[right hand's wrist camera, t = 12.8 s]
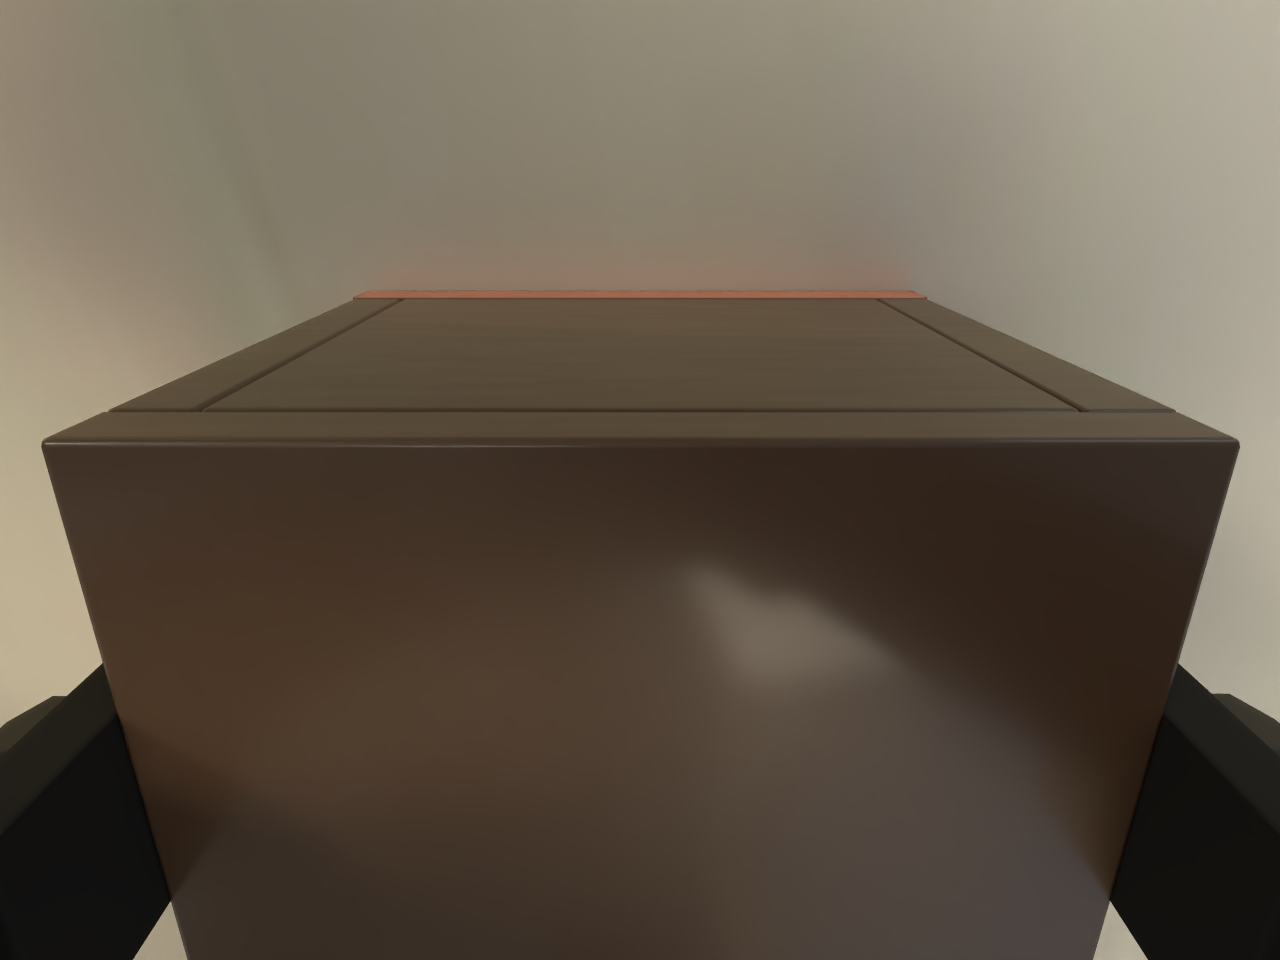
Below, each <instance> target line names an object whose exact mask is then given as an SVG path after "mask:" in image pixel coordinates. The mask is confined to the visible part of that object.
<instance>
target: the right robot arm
mask: <svg viewBox="0 0 1280 960" xmlns="http://www.w3.org/2000/svg"><path fill="white" fill-rule="evenodd" d="M170 901H171V899H170V896H169V892H168V889H167V885H166V882H165V878H164V875H163V871H162V868H161V864H160V861H159V857H158V854H157V850H156V847H155V843H154V840H153V836H152V833H151V829H150V826H149V822H148V819H147V815H146V812H145V808H144V805H143V801H142V798H141V794H140V791H139V787H138V784H137V780H136V777H135V773H134V770H133V766H132V763H131V759H130V756H129V752H128V749H127V745H126V742H125V738H124V735H123V731H122V728H121V724H120V721H119V717H118V714H117V710H116V707H115V703H114V700H113V696H112V693H111V689H110V686H109V682H108V679H107V675H106V672H105V668H104V665H103V663H102V664H101V665H100V666H99V667H98V668H97V669H96V670H95V671H94V672H93V673H92V674H90V675H89V676H88V677H87V678H86V679H85V680H84V681H83V682H82V683H81V684H80V685H78V686H77V687H76V688H75V689H74V690H73V691H72V692H71V693H70V694H69V695H68V696H52V697H51V698H49V699H47V700H45V701H44V702H42V703H40V704H38V705H36V706H35V707H33V708H31V709H29V710H28V711H26V712H24V713H22V714H21V715H19V716H17V717H15V718H13V719H12V720H10V721H8V722H7V723H5V724H4V725H3V726H2V727H1V728H0V960H133V959H134V957H135V955H136V954H137V952H138V951H139V949H140V948H141V946H142V945H143V943H144V941H145V940H146V938H147V937H148V935H149V934H150V932H151V931H152V929H153V927H154V926H155V924H156V923H157V921H158V920H159V918H160V917H161V915H162V913H163V912H164V910H165V909H166V907H167V906H168V904H169V903H170ZM1110 901H1111V903H1112V904H1113V906H1114V907H1115V909H1116V911H1117V912H1118V914H1119V915H1120V917H1121V918H1122V920H1123V921H1124V923H1125V925H1126V926H1127V928H1128V929H1129V931H1130V932H1131V934H1132V935H1133V937H1134V939H1135V940H1136V942H1137V943H1138V945H1139V946H1140V948H1141V949H1142V951H1143V953H1144V954H1145V956H1146V957H1147V959H1148V960H1280V723H1278V722H1277V721H1276V720H1275V719H1273V718H1271V717H1270V716H1268V715H1266V714H1264V713H1262V712H1261V711H1259V710H1257V709H1255V708H1254V707H1252V706H1250V705H1248V704H1246V703H1245V702H1243V701H1241V700H1239V699H1238V698H1236V697H1234V696H1232V695H1230V694H1211V693H1210V692H1209V691H1208V690H1207V689H1206V688H1205V687H1204V686H1202V685H1201V684H1200V683H1199V682H1198V681H1197V680H1196V679H1195V678H1194V677H1193V676H1192V675H1191V674H1189V673H1188V672H1187V671H1186V670H1185V669H1184V668H1183V667H1182V666H1181V665H1180V664H1179V663H1178V665H1177V668H1176V672H1175V675H1174V679H1173V682H1172V686H1171V689H1170V693H1169V696H1168V700H1167V703H1166V707H1165V710H1164V714H1163V717H1162V720H1161V724H1160V727H1159V731H1158V734H1157V738H1156V741H1155V745H1154V748H1153V752H1152V755H1151V759H1150V762H1149V766H1148V769H1147V773H1146V776H1145V780H1144V783H1143V787H1142V790H1141V794H1140V797H1139V801H1138V804H1137V808H1136V811H1135V815H1134V818H1133V822H1132V825H1131V828H1130V832H1129V835H1128V839H1127V842H1126V846H1125V849H1124V853H1123V856H1122V860H1121V863H1120V867H1119V870H1118V874H1117V877H1116V881H1115V884H1114V888H1113V891H1112V895H1111V898H1110Z"/></svg>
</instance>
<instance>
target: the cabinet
mask: <svg viewBox="0 0 1280 960" xmlns="http://www.w3.org/2000/svg"><path fill="white" fill-rule="evenodd" d="M41 447H42V451H43V454H44V458H45V461H46V465H47V468H48V472H49V475H50V479H51V483H52V486H53V490H54V493H55V497H56V500H57V504H58V507H59V511H60V514H61V518H62V521H63V525H64V528H65V532H66V535H67V539H68V542H69V546H70V549H71V553H72V556H73V560H74V563H75V567H76V570H77V574H78V577H79V581H80V584H81V588H82V591H83V595H84V598H85V602H86V605H87V609H88V612H89V616H90V619H91V623H92V626H93V630H94V633H95V637H96V640H97V644H98V647H99V651H100V654H101V658H102V661H103V665H104V668H105V672H106V675H107V679H108V682H109V686H110V689H111V693H112V696H113V700H114V703H115V707H116V710H117V714H118V717H119V721H120V724H121V728H122V731H123V735H124V738H125V742H126V745H127V749H128V752H129V756H130V759H131V763H132V766H133V770H134V773H135V777H136V780H137V784H138V787H139V791H140V794H141V798H142V801H143V805H144V808H145V812H146V815H147V819H148V822H149V826H150V829H151V833H152V836H153V840H154V843H155V847H156V850H157V854H158V857H159V861H160V864H161V868H162V871H163V875H164V878H165V882H166V885H167V889H168V892H169V896H170V899H171V903H172V906H173V910H174V913H175V917H176V920H177V924H178V927H179V931H180V934H181V938H182V941H183V945H184V948H185V952H186V955H187V959H188V960H1093V957H1094V954H1095V950H1096V947H1097V943H1098V940H1099V936H1100V933H1101V930H1102V926H1103V923H1104V919H1105V916H1106V912H1107V909H1108V905H1109V902H1110V898H1111V895H1112V891H1113V888H1114V884H1115V881H1116V877H1117V874H1118V870H1119V867H1120V863H1121V860H1122V856H1123V853H1124V849H1125V846H1126V842H1127V839H1128V835H1129V832H1130V828H1131V825H1132V822H1133V818H1134V815H1135V811H1136V808H1137V804H1138V801H1139V797H1140V794H1141V790H1142V787H1143V783H1144V780H1145V776H1146V773H1147V769H1148V766H1149V762H1150V759H1151V755H1152V752H1153V748H1154V745H1155V741H1156V738H1157V734H1158V731H1159V727H1160V724H1161V720H1162V717H1163V714H1164V710H1165V707H1166V703H1167V700H1168V696H1169V693H1170V689H1171V686H1172V682H1173V679H1174V675H1175V672H1176V668H1177V665H1178V661H1179V658H1180V654H1181V651H1182V647H1183V644H1184V640H1185V637H1186V633H1187V630H1188V626H1189V623H1190V619H1191V616H1192V612H1193V609H1194V606H1195V602H1196V599H1197V595H1198V592H1199V588H1200V585H1201V581H1202V578H1203V574H1204V571H1205V567H1206V564H1207V560H1208V557H1209V553H1210V550H1211V546H1212V543H1213V539H1214V536H1215V532H1216V529H1217V525H1218V522H1219V518H1220V515H1221V511H1222V508H1223V504H1224V501H1225V498H1226V494H1227V491H1228V487H1229V484H1230V480H1231V477H1232V473H1233V470H1234V466H1235V463H1236V459H1237V456H1238V452H1239V449H1240V444H1239V441H1238V440H1237V439H1236V438H1233V437H1231V436H1229V435H1227V434H1224V433H1222V432H1220V431H1218V430H1215V429H1213V428H1211V427H1209V426H1207V425H1204V424H1202V423H1200V422H1198V421H1195V420H1193V419H1191V418H1189V417H1186V416H1184V415H1182V414H1180V413H1178V412H1176V411H1175V410H1174V409H1172V408H1169V407H1167V406H1165V405H1163V404H1160V403H1158V402H1156V401H1154V400H1151V399H1149V398H1147V397H1145V396H1142V395H1140V394H1138V393H1136V392H1133V391H1131V390H1129V389H1127V388H1124V387H1122V386H1120V385H1118V384H1116V383H1113V382H1111V381H1109V380H1107V379H1104V378H1102V377H1100V376H1098V375H1095V374H1093V373H1091V372H1089V371H1086V370H1084V369H1082V368H1080V367H1077V366H1075V365H1073V364H1071V363H1068V362H1066V361H1064V360H1062V359H1059V358H1057V357H1055V356H1053V355H1051V354H1048V353H1046V352H1044V351H1042V350H1039V349H1037V348H1035V347H1033V346H1030V345H1028V344H1026V343H1024V342H1021V341H1019V340H1017V339H1015V338H1012V337H1010V336H1008V335H1006V334H1003V333H1001V332H999V331H997V330H995V329H992V328H990V327H988V326H986V325H983V324H981V323H979V322H977V321H974V320H972V319H970V318H968V317H965V316H963V315H961V314H959V313H956V312H954V311H952V310H950V309H947V308H945V307H943V306H941V305H938V304H936V303H934V302H932V301H930V300H927V297H924V296H922V295H920V294H918V293H915V292H913V291H367V292H365V293H362V294H360V295H358V296H355V297H353V300H352V301H350V302H348V303H345V304H343V305H341V306H339V307H337V308H334V309H332V310H330V311H328V312H325V313H323V314H321V315H319V316H317V317H314V318H312V319H310V320H308V321H305V322H303V323H301V324H299V325H297V326H294V327H292V328H290V329H288V330H285V331H283V332H281V333H279V334H277V335H274V336H272V337H270V338H268V339H265V340H263V341H261V342H259V343H257V344H254V345H252V346H250V347H248V348H245V349H243V350H241V351H239V352H237V353H234V354H232V355H230V356H228V357H225V358H223V359H221V360H219V361H217V362H214V363H212V364H210V365H208V366H205V367H203V368H201V369H199V370H197V371H194V372H192V373H190V374H188V375H185V376H183V377H181V378H179V379H177V380H174V381H172V382H170V383H168V384H166V385H163V386H161V387H159V388H157V389H154V390H152V391H150V392H148V393H146V394H143V395H141V396H139V397H137V398H134V399H132V400H130V401H128V402H126V403H123V404H121V405H119V406H117V407H114V408H112V409H110V410H109V411H108V412H103V413H101V414H98V415H96V416H94V417H92V418H90V419H87V420H85V421H83V422H81V423H78V424H76V425H74V426H72V427H70V428H67V429H65V430H63V431H61V432H58V433H56V434H54V435H52V436H50V437H47V438H45V439H44V440H43V441H42V446H41Z"/></svg>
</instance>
